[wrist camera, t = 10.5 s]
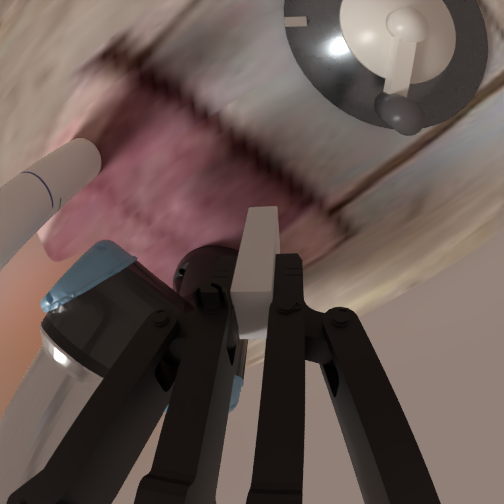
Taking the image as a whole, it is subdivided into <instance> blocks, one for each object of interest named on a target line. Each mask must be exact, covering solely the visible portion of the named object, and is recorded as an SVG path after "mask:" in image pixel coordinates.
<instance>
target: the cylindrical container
mask: <svg viewBox="0 0 504 504" xmlns="http://www.w3.org/2000/svg"><path fill="white" fill-rule="evenodd" d="M100 169H101V156H100V153H99V151H98V149H97V147H96V146H95V145H94V144H93V143H92V142H91V141H89V140H87V139H85V138H76V139H73V140H72V141H70V142H68V143H66V144H65V145H63V146H61V147H60V148H58V149H57V150H55V151H53V152H52V153H50V154H48V155H47V156H45V157H44V158H42V159H41V160H39V161H38V162H36V163H35V164H33V165H32V166H30V167H29V168H27V169H26V170H24V171H23V172H21V173H20V174H19V175H17V176H16V177H14V178H13V179H12V180H10V181H9V182H7V183H6V184H5V185H3V186H2V187H1V188H0V271H1V270H2V268H3V267H4V266H5V265H6V264H7V263H8V262H9V261H10V259H11V258H12V257H13V256H14V255H15V254H16V253H17V252H18V251H19V249H21V247H22V246H23V245H24V244H25V243H26V242H27V241H28V240H29V239H30V238H31V237H32V236H33V235H34V234H35V233H36V232H37V231H38V230H39V229H40V228H41V227H42V226H43V225H44V224H45V223H46V222H47V221H48V220H49V219H50V218H51V217H52V216H53V215H54V214H55V213H56V212H57V211H58V210H59V209H61V208H62V207H63V206H64V205H65V204H66V203H67V202H68V201H69V200H70V199H71V198H72V197H74V196H75V195H76V194H77V193H78V192H79V191H80V190H81V189H83V188H84V187H85V186H86V185H87V184H88V183H90V182H91V181H92V180H93V179H94V178H95V177H96V176H97V175H98V174H99V172H100Z"/></svg>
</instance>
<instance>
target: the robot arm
mask: <svg viewBox="0 0 504 504" xmlns="http://www.w3.org/2000/svg"><path fill="white" fill-rule="evenodd" d="M137 259H138V258H137V257H135V256H132V255H130V254H129V253H128V252H126V251H125V250H124V249H122V248H121V247H120V246H118V245H117V244H116V243H114V242H113V241H110V240H101V241H98V242H97V243H95V244H94V245H93V246H92V247H91V248H90V249H89V250H88V251H87V252H85V253H84V254H83V255H82V256H81V257H80V258H79V259H78V260H77V261H76V262H75V263H74V264H73V266H72V267H71V268H70V269H69V270H68V271H67V272H66V273H65V274H64V275H63V276H62V277H61V278H60V279H59V280H58V281H57V283H56V284H55V285H54V286H53V287H52V288H51V290H50V291H49V292H48V293H47V294H46V296H44V298H43V299H42V300H41V302H40V305H41V307H42V309H43V311H44V312H47V315H46V316H45V318H44V319H43V321H42V322H41V324H40V331H41V336H42V341H43V342H42V346H41V348H40V350H39V351H38V353H37V355H36V356H35V358H34V360H33V361H32V363H31V365H30V366H29V368H28V370H27V372H26V373H25V375H24V377H23V379H22V381H21V382H20V384H19V386H18V388H17V390H16V391H15V393H14V395H13V397H12V399H11V401H10V403H9V405H8V407H7V409H6V411H5V413H4V415H3V417H2V419H1V421H0V504H111V503H112V502H113V500H114V499H115V497H116V496H117V494H118V492H119V490H120V488H121V487H122V485H123V483H124V481H125V480H126V478H127V476H128V474H129V473H130V471H131V469H132V467H133V465H134V464H135V462H136V460H137V459H138V457H139V455H140V453H141V451H142V450H143V448H144V446H145V444H146V443H147V441H148V439H149V437H150V436H151V434H152V432H153V430H154V429H155V427H156V425H157V423H158V421H159V420H160V418H161V416H162V414H163V412H166V415H165V419H164V422H163V426H162V430H161V434H160V437H159V441H158V445H157V449H156V453H155V457H154V461H153V465H152V468H151V471H150V472H149V474H147V475H146V476H144V477H143V478H142V480H141V481H140V483H139V486H138V489H137V493H136V497H135V501H134V504H216V500H215V496H216V488H217V482H218V475H219V469H220V463H221V457H222V450H223V444H224V438H225V431H226V425H227V419H228V413H229V412H231V411H232V410H233V409H234V408H235V407H236V405H237V403H238V401H239V396H240V392H241V387H242V386H243V379H244V370H245V362H246V353H247V345H248V339H266V349H265V359H264V371H263V380H262V391H261V400H260V410H259V419H258V429H257V438H256V448H255V456H254V465H253V474H252V482H251V487H250V490H249V492H248V496H247V501H246V504H302V488H303V463H304V430H305V429H304V428H305V360H308V361H312V362H315V363H319V364H320V368H321V370H322V374H323V376H324V380H325V382H326V385H327V388H328V391H329V394H330V397H331V400H332V403H333V406H334V409H335V412H336V415H337V418H338V421H339V424H340V427H341V430H342V433H343V437H344V440H345V443H346V446H347V449H348V452H349V455H350V458H351V461H352V465H353V468H354V471H355V474H356V477H357V481H358V484H359V487H360V490H361V493H362V496H363V500H364V503H365V504H441V503H440V501H439V498H438V496H437V493H436V490H435V487H434V485H433V482H432V480H431V477H430V474H429V472H428V469H427V467H426V464H425V462H424V459H423V457H422V454H421V452H420V450H419V447H418V445H417V442H416V440H415V438H414V435H413V433H412V431H411V428H410V426H409V424H408V421H407V419H406V417H405V415H404V412H403V410H402V408H401V406H400V403H399V401H398V399H397V397H396V395H395V392H394V390H393V388H392V386H391V384H390V382H389V379H388V377H387V375H386V373H385V371H384V369H383V367H382V365H381V363H380V360H379V358H378V356H377V354H376V352H375V350H374V348H373V346H372V344H371V342H370V340H369V338H368V336H367V334H366V332H365V330H364V328H363V326H362V324H361V322H360V320H359V318H358V316H357V315H356V314H355V312H354V311H352V310H350V309H348V308H344V307H335V308H332V309H329V310H328V311H327V312H326V313H322V312H318V311H315V310H313V309H311V308H309V307H308V306H307V305H306V303H305V302H304V295H303V269H302V259H301V258H300V257H299V255H298V254H297V253H295V254H280V239H279V225H278V210H277V206H267V207H249V209H248V214H247V218H246V223H245V227H244V232H243V236H242V240H241V245H240V249H239V252H238V251H236V250H233V249H230V248H226V247H218V246H209V247H203V248H199V249H196V250H194V251H192V252H190V253H188V254H187V255H186V256H185V257H184V258H183V259H182V260H181V261H180V263H179V265H178V267H177V269H176V272H175V274H174V278H173V289H171V288H170V287H169V286H168V285H166V284H165V283H164V282H163V281H161V280H160V279H159V278H158V277H156V276H155V275H154V274H153V273H151V272H150V271H149V270H148V269H147V268H145V267H144V266H143V265H142V264H141V263H139V262H138V261H137Z"/></svg>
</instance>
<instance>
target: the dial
mask: <svg viewBox="0 0 504 504" xmlns="http://www.w3.org/2000/svg"><path fill="white" fill-rule="evenodd" d="M339 23H340V28H341V33H342V35H343V38H344V41H345V43H346V45H347V47H348V48H349V50H350V51H351V53H352V54H353V55H354V56H355V58H356V59H357V60H358V61H359V62H360V63H361V64H362V65H363V66H364V67H366V68H367V69H368V70H370V71H371V72H373V73H374V74H376V75H378V76H380V77H382V78H385V84H384V90H383V92H381V93H379V94H378V95H377V97H376V98H375V101H374V109H375V112H376V114H377V115H378V116H379V117H380V118H381V119H383V120H384V121H385V122H387V123H388V124H389V125H390V126H392V127H393V128H394V129H395V130H397V131H398V132H399V133H401V134H403V135H407V136H410V135H414V134H416V133H418V132H419V131H420V130H421V129H422V128H423V126H424V123H425V114H424V111H423V109H422V107H421V106H420V105H419V104H418V103H417V102H415V101H413V100H411V99H408V98H407V94H408V89H409V84H416V83H422V82H425V81H428V80H431V79H433V78H435V77H436V76H438V75H439V74H440V73H441V72H442V71H443V70H444V69H445V68H446V67H447V66H448V64H449V62H450V61H451V59H452V56H453V54H454V50H455V43H456V33H455V27H454V23H453V19H452V17H451V14H450V12H449V10H448V8H447V7H446V5H445V3H444V2H443V1H442V0H342V2H341V5H340V10H339Z"/></svg>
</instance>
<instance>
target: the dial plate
mask: <svg viewBox="0 0 504 504" xmlns="http://www.w3.org/2000/svg"><path fill="white" fill-rule="evenodd" d="M442 1H443V2H444V3H445V5H446V7H447V8H448V10H449V12H450V14H451V17H452V19H453V23H454V27H455V33H456V43H455V50H454V54H453V56H452V59H451V61H450V62H449V64H448V66H447V67H446V68H445V69H444V70H443V71H442V72H441V73H440V74H439V75H438V76H436V77H435V78H433V79H431V80H428V81H425V82H422V83H416V84H409V89H408V94H407V98H408V99H411V100H413V101H415V102H417V103H418V104H419V105H420V106H421V107H422V109H423V111H424V114H425V123H424V126H423V128H426V127H429V126H433V125H436V124H438V123H441V122H443V121H445V120H447V119H449V118H450V117H452V116H454V115H455V114H456V113H458V112H459V111H460V110H461V109H462V108H464V107H465V106H466V104H467V103H468V102H469V101H470V100H471V99H472V97H473V96H474V94H475V93H476V91H477V90H478V87H479V85H480V83H481V81H482V79H483V75H484V72H485V69H486V63H487V55H488V42H487V33H486V28H485V24H484V20H483V17H482V14H481V11H480V9H479V6H478V4H477V2H476V0H442ZM341 2H342V0H285V4H284V24H285V29H286V35H287V39H288V42H289V45H290V48H291V51H292V53H293V55H294V57H295V59H296V61H297V63H298V65H299V66H300V68H301V70H302V71H303V73H304V74H305V76H306V77H307V78H308V79H309V81H310V82H311V83H312V84H313V85H314V87H315V88H316V89H317V90H318V91H319V92H320V93H321V94H322V95H323V96H324V97H325V98H327V99H328V100H329V101H330V102H332V103H333V104H334V105H335V106H337V107H338V108H340V109H341V110H343V111H344V112H346V113H347V114H349V115H351V116H353V117H355V118H357V119H359V120H361V121H364V122H367V123H370V124H372V125H376V126H380V127H384V128H390V129H394V128H393V127H392V126H390V125H389V124H388V123H387V122H385V121H384V120H383V119H381V118H380V117H379V116H378V115H377V114H376V112H375V109H374V101H375V98H376V97H377V95H378V94H379V93H381V92H383V90H384V84H385V78H382V77H380V76H378V75H376V74H374V73H373V72H371V71H370V70H368V69H367V68H366V67H364V66H363V65H362V64H361V63H360V62H359V61H358V60H357V59H356V58H355V56H354V55H353V54H352V53H351V51H350V50H349V48H348V47H347V45H346V43H345V41H344V38H343V35H342V33H341V28H340V23H339V10H340V5H341Z"/></svg>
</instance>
